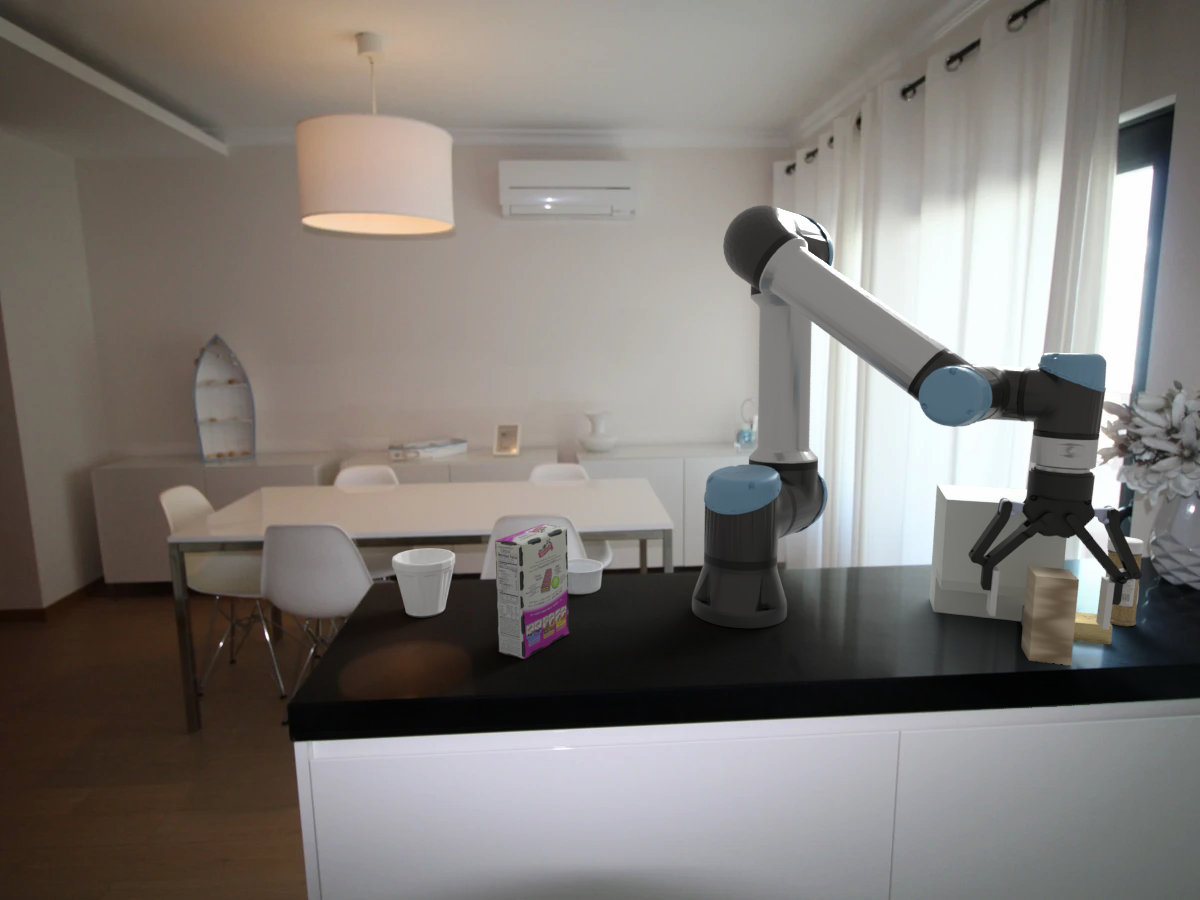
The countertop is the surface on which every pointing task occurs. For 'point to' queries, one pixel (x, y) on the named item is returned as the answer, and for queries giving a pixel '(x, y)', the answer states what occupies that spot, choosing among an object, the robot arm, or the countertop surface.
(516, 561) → the candy bar box
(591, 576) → the ramekin
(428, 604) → the cup
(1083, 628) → the small wooden block
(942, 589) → the cabinet
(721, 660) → the countertop surface
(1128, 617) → the sprinkles bottle
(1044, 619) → the wooden rectangular block
